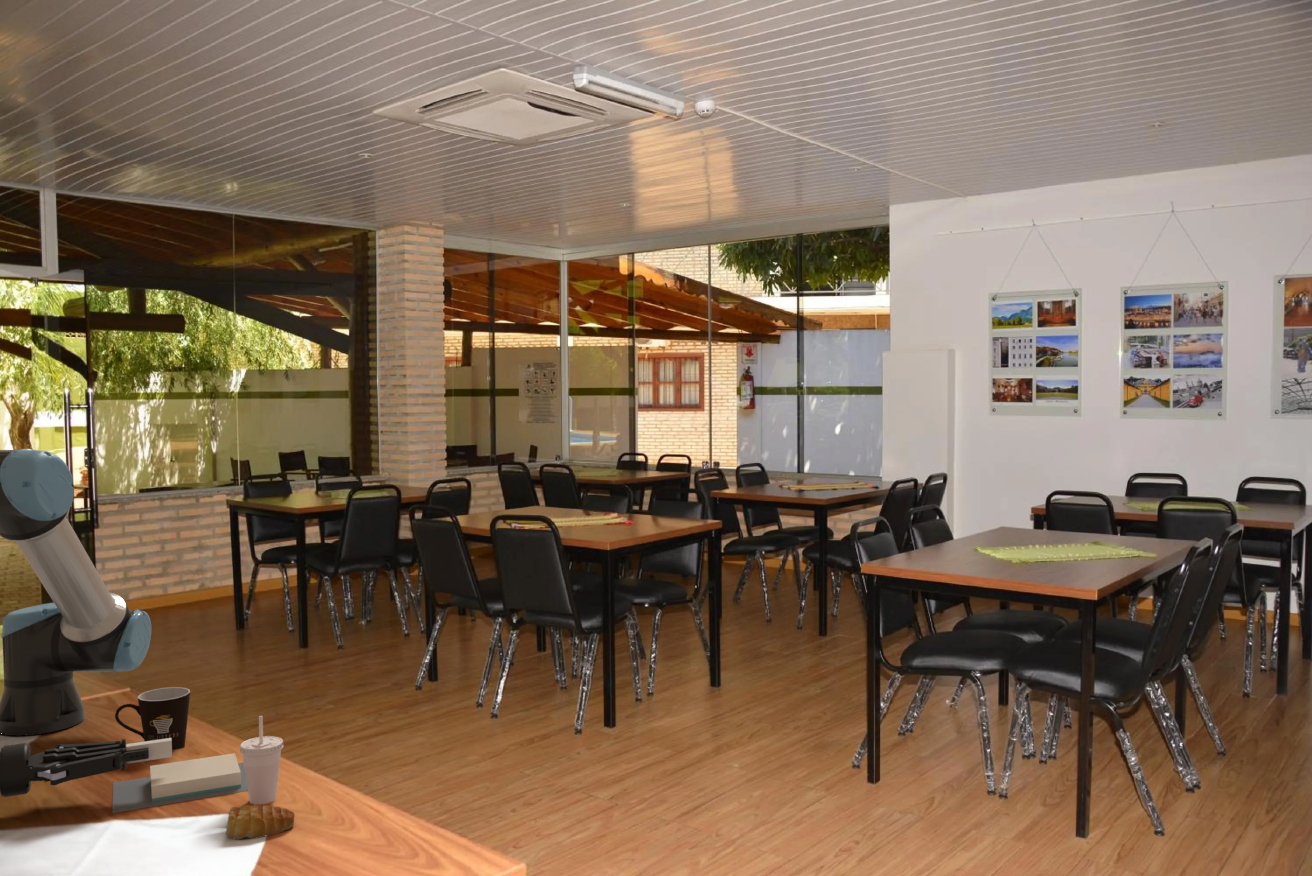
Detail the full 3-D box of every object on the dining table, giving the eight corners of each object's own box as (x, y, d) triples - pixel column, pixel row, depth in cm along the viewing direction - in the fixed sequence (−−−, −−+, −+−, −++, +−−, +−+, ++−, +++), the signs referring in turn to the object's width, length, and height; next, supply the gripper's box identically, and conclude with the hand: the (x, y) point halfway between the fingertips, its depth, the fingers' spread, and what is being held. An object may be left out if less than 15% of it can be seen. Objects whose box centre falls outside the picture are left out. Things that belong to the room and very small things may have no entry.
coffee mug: (200, 741, 192) (199, 687, 192) (174, 757, 184) (173, 701, 183) (141, 739, 194) (140, 686, 193) (112, 755, 185) (111, 700, 185)
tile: (150, 765, 171) (234, 753, 177) (150, 780, 171) (235, 767, 177) (151, 786, 162) (240, 772, 168) (151, 802, 162) (241, 787, 168)
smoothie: (238, 813, 159) (236, 723, 158) (243, 797, 165) (241, 711, 165) (282, 809, 161) (281, 719, 160) (286, 793, 167) (284, 707, 166)
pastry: (295, 818, 158) (294, 793, 158) (293, 836, 152) (293, 810, 151) (228, 826, 155) (228, 800, 155) (224, 845, 149) (223, 818, 149)
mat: (113, 786, 170) (113, 782, 170) (243, 765, 179) (243, 762, 179) (112, 817, 158) (112, 813, 158) (252, 793, 167) (252, 789, 167)
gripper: (4, 782, 163) (170, 757, 174) (-5, 812, 151) (173, 783, 162) (3, 735, 163) (169, 713, 173) (-6, 761, 151) (172, 736, 162)
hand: (171, 747), depth 168 cm, fingers closed
